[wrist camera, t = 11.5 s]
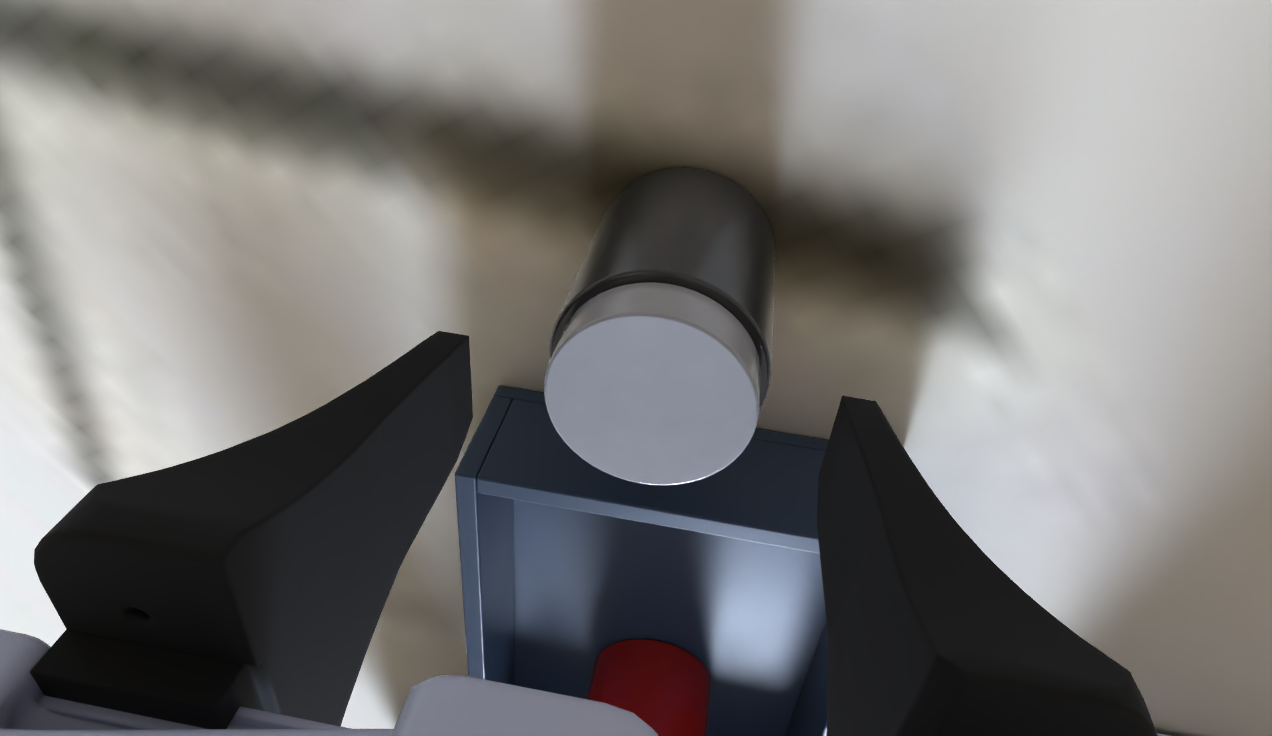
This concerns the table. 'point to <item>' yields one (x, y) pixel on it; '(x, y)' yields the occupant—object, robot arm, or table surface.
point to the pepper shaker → (667, 331)
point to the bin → (645, 568)
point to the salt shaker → (654, 685)
